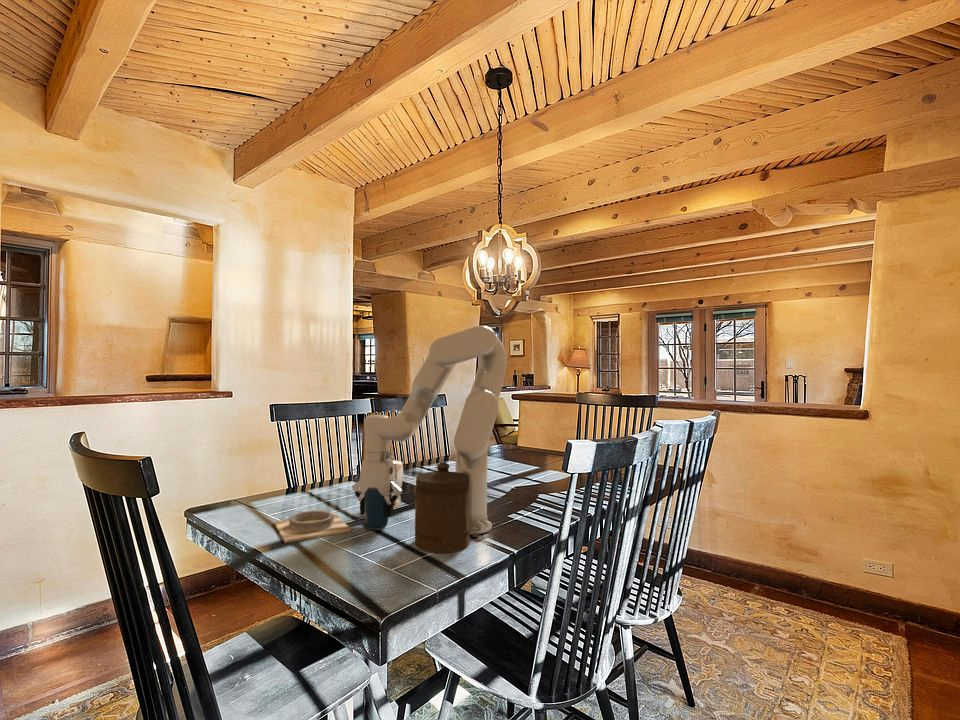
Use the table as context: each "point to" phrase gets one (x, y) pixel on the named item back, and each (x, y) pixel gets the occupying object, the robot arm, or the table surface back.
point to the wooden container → (442, 511)
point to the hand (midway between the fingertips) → (376, 514)
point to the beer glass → (398, 479)
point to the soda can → (375, 510)
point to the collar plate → (309, 535)
